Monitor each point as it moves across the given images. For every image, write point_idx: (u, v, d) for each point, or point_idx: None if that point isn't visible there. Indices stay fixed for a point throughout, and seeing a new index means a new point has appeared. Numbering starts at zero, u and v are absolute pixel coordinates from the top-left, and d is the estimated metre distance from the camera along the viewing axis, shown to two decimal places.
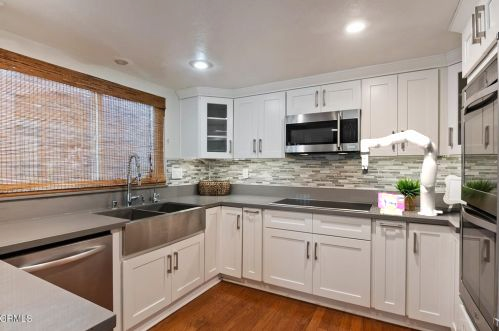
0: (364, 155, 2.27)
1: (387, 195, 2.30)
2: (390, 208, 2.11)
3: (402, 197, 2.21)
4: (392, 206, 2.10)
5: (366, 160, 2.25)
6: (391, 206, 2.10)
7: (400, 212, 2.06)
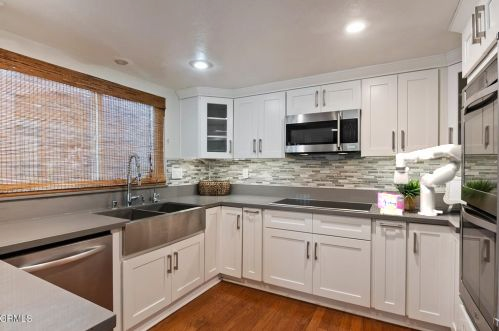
0: (406, 171, 2.06)
1: (387, 195, 2.30)
2: (390, 208, 2.11)
3: (402, 197, 2.21)
4: (392, 206, 2.10)
5: None
6: (391, 206, 2.10)
7: (400, 212, 2.06)
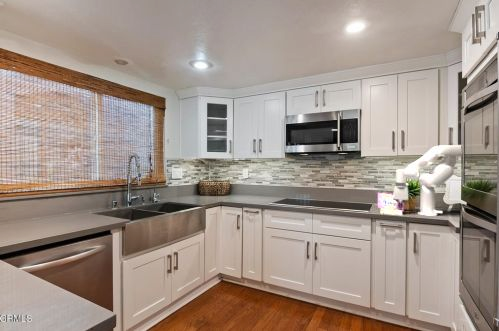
0: (406, 186, 2.06)
1: (387, 195, 2.30)
2: (390, 208, 2.11)
3: None
4: (392, 206, 2.10)
5: None
6: (391, 206, 2.10)
7: (400, 212, 2.06)
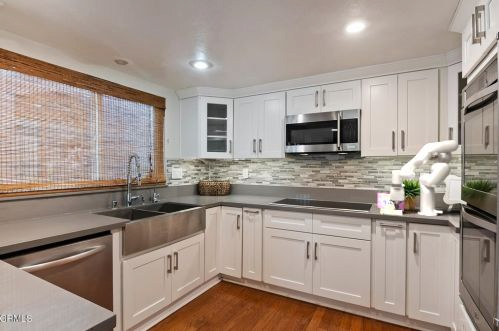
0: (402, 187, 2.08)
1: (386, 195, 2.30)
2: (389, 208, 2.11)
3: None
4: (392, 206, 2.10)
5: None
6: (391, 206, 2.10)
7: (400, 212, 2.06)
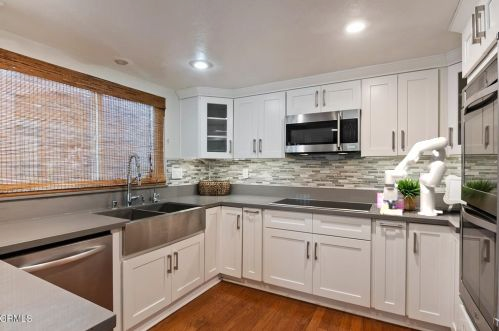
0: (395, 187, 2.10)
1: None
2: (384, 208, 2.13)
3: (402, 197, 2.20)
4: (386, 206, 2.12)
5: None
6: (385, 206, 2.13)
7: (400, 212, 2.06)
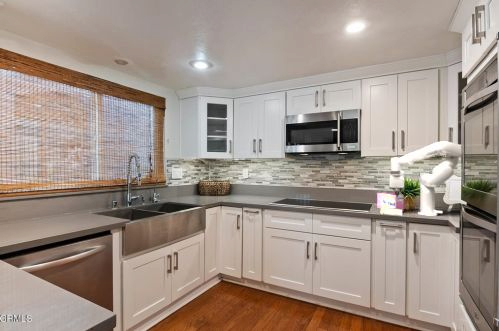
0: (401, 174, 2.08)
1: (386, 195, 2.29)
2: (384, 208, 2.13)
3: (401, 197, 2.20)
4: (386, 206, 2.12)
5: None
6: (385, 206, 2.13)
7: (400, 212, 2.06)
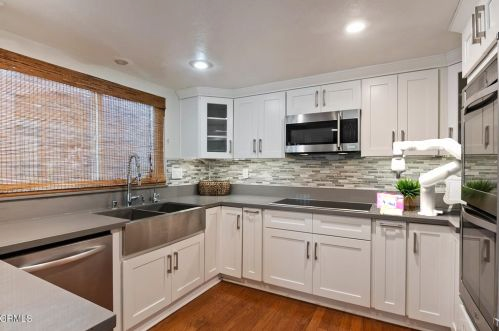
0: (403, 158, 2.18)
1: (386, 195, 2.29)
2: (384, 208, 2.13)
3: (401, 197, 2.20)
4: (386, 206, 2.12)
5: None
6: (385, 206, 2.13)
7: (400, 212, 2.06)
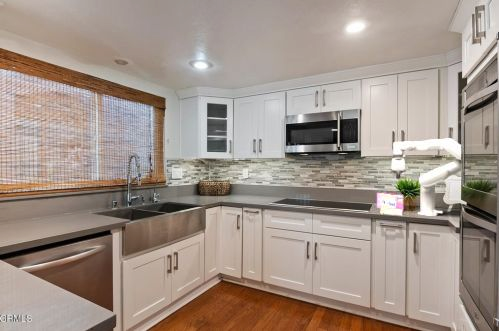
0: (403, 158, 2.18)
1: (386, 195, 2.29)
2: (384, 208, 2.13)
3: (401, 197, 2.20)
4: (386, 206, 2.12)
5: None
6: (385, 206, 2.13)
7: (400, 212, 2.06)
